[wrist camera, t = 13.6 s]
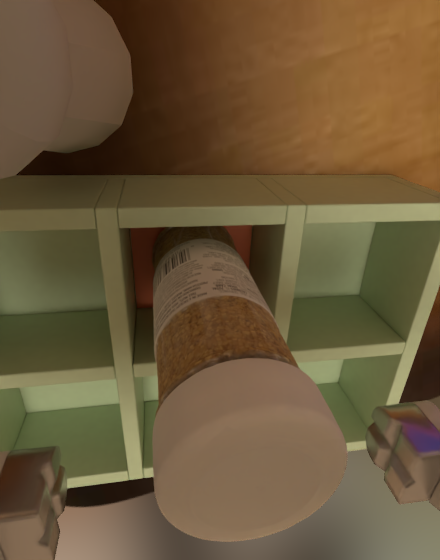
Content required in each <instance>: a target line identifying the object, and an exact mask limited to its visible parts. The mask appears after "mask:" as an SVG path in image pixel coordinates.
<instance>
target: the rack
mask: <svg viewBox="0 0 440 560" xmlns="http://www.w3.org/2000/svg"><path fill="white" fill-rule="evenodd" d="M195 226H223V227H224V228H226V229H227V231H228V233H229V234H230V235H231V237H232V239H233V241H234V245H235V249H236V251H237V253H238V254H239V255H240V256H241V258H242V259H243V261H244V263H245V265H246V267H247V268H248V270H249V272H250V274H251V276H252V278H253V280H254V282H255V284H256V285H257V287H258V289H259V291H260V293H261V295H262V296H263V298H264V300H265V302H266V303H267V305H268V307H269V309H270V311H271V313H272V315H273V317H274V319H275V320H276V322H277V324H278V327H279V330H280V334H281V335H282V337H283V339H284V340H285V343H286V344H287V346H288V348H289V350H290V351H291V354H292V356H293V357H294V359H295V360H296V363H297V364H298V367H299V368H300V370H302V371H303V372H304V373H306V374H307V375H308V376H309V377H310V378H311V379H312V380H313V381H314V383H315V384H316V385H317V387H318V389H319V390H320V392H321V394H322V396H323V398H324V400H325V401H326V403H327V405H328V407H329V408H330V410H331V412H332V414H333V416H334V418H335V420H336V422H337V424H338V426H339V427H340V429H341V431H342V433H343V436H344V439H345V442H346V445H347V451H354V450H362V449H367V447H366V440H365V436H366V432H367V428H368V427H369V426H370V425H371V424H372V423H373V422H374V420H373V419H372V417H371V415H372V412H373V410H374V409H375V408H376V407H378V406H385V405H392V404H398V403H399V400H400V398H401V395H402V392H403V389H404V386H405V383H406V380H407V377H408V375H409V372H410V369H411V366H412V363H413V360H414V357H415V354H416V352H417V349H418V346H419V343H420V340H421V337H422V334H423V331H424V329H425V326H426V323H427V320H428V317H429V314H430V311H431V309H432V306H433V303H434V300H435V297H436V294H437V291H438V288H439V286H440V192H437V191H434V190H432V189H429V188H426V187H423V186H421V185H418V184H415V183H412V182H410V181H407V180H404V179H401V178H399V177H396V176H393V175H15V176H11V177H7V178H3V179H0V451H9V450H19V449H29V448H40V447H50V446H59V447H60V451H61V454H62V457H61V462H60V465H61V466H63V467H65V470H66V475H67V488H72V487H80V486H88V485H95V484H103V483H110V482H118V481H126V480H128V479H130V480H132V479H140V478H143V476H144V478H148V477H154V475H153V444H152V438H153V426H154V421H155V418H156V416H155V415H156V411H157V408H158V405H159V401H158V376H157V363H156V361H155V355H154V316H153V278H154V274H155V271H154V267H153V264H152V255H153V246H154V243H155V241H156V239H157V237H158V235H159V234H160V232H161V231H163V230H164V229H165V228H166V227H195Z"/></svg>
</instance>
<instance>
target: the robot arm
mask: <svg viewBox="0 0 440 560" xmlns="http://www.w3.org/2000/svg"><path fill="white" fill-rule="evenodd" d="M371 417H372V419H373V420H374V422H373V423H372V424H371V425H370V426H369V427H368V428H367V432H366V436H365V440H366V447H367V450H368V453H369V455H370V457H371V459H372V461H373V462H374V464H375V465H377V466H378V467H379V468H381V469H382V470H384V471H385V473H384V481H385V482H386V484H387V485H388V487H389V489H390V490H391V492H392V494H393V495H394V497H395V499H396V500H397V502H398V503H399V504H405V503H413V502H420V501H427V500H430V501H429V502H430V503H431V504H432V505H433V506H435V507H436V508H437V509H438V510H439V511H440V410H439V409H438V408H437V407H436V406H435V404H433V403H432V402H430V401H428V400H427V401H419V402H411V403H408V402H407V403H400V404H392V405H385V406H378V407H376V408H375V409H374V410H373V412H372V415H371ZM61 457H62V454H61V451H60V447H59V446H50V447H40V448H29V449H19V450H9V451H0V560H54V559H55V554H56V549H57V544H58V539H59V534H60V529H59V526H58V522H57V518H58V517H59V516H60V515H61V514H62V513H63V511H64V508H65V502H66V495H67V475H66V470H65V467H63V466H61V465H60V462H61Z"/></svg>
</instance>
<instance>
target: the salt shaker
mask: <svg viewBox="0 0 440 560" xmlns="http://www.w3.org/2000/svg"><path fill="white" fill-rule="evenodd" d="M132 95H133V84H132V70H131V57H130V53H129V51H128V49H127V47H126V45H125V43H124V41H123V39H122V37H121V35H120V33H119V31H118V29H117V27H116V25H115V23H114V21H113V19H112V17H111V16H110V15H109V14H108V13H107V12H106V11H105V10H103V9H102V8H101V7H100V6H99V5H98V4H97V3H96V2H95V1H94V0H0V179H3V178H7V177H11V176H15V175H16V174H18V173H19V172H20V171H21V170H22V169H23V168H24V167H25V166H27V165H28V164H29V163H30V162H31V161H32V160H33V159H34V158H35V157H36V156H38V155H39V154H40V153H41V152H42V151H43V150H45V151H53V152H61V153H71V152H75V151H79V150H83V149H87V148H91V147H95V146H99V145H100V144H101V143H102V142H103V141H104V140H105V139H107V138H108V137H109V136H110V135H111V134H112V133H113V132H114V131H116V130H117V129H118V128H119V127H120V126H121V125H122V123H123V120H124V117H125V115H126V112H127V109H128V106H129V103H130V101H131V98H132Z"/></svg>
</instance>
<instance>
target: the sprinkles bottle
mask: <svg viewBox="0 0 440 560" xmlns="http://www.w3.org/2000/svg"><path fill="white" fill-rule="evenodd" d="M152 264H153V267H154V271H155V274H154V278H153V316H154V355H155V361H156V363H157V376H158V401H159V405H158V408H157V411H156V415H155V416H156V418H155V421H154V426H153V438H152V444H153V475H154V490H155V497H156V500H157V503H158V506H159V508H160V510H161V512H162V514H163V515H164V516H165V518H166V519H167V520H168V521H169V522H170V523H171V524H172V525H173V526H175V527H176V528H177V529H179V530H180V531H182V532H184V533H186V534H188V535H191V536H194V537H197V538H200V539H205V540H210V541H223V542H228V541H242V540H248V539H255V538H260V537H263V536H267V535H270V534H273V533H276V532H279V531H281V530H284V529H286V528H288V527H291V526H293V525H294V524H296V523H298V522H300V521H301V520H303V519H305V518H307V517H308V516H309V515H311V514H312V513H314V512H315V511H316V510H318V509H319V508H320V507H321V506H322V505H323V504H324V503H325V502H326V501H327V500H328V499H329V498H330V497H331V496H332V494H333V493H334V492H335V490H336V489H337V487H338V486H339V484H340V482H341V480H342V478H343V475H344V472H345V469H346V464H347V445H346V442H345V439H344V436H343V433H342V431H341V429H340V427H339V426H338V424H337V422H336V420H335V418H334V416H333V414H332V412H331V410H330V408H329V407H328V405H327V403H326V401H325V400H324V398H323V396H322V394H321V392H320V390H319V389H318V387H317V385H316V384H315V383H314V381H313V380H312V379H311V378H310V377H309V376H308V375H307V374H306V373H304V372H303V371H302V370H300V368H299V367H298V364H297V363H296V360H295V359H294V357H293V356H292V354H291V351H290V350H289V348H288V346H287V344H286V343H285V340H284V339H283V337H282V335H281V334H280V330H279V327H278V324H277V322H276V320H275V319H274V317H273V315H272V313H271V311H270V309H269V307H268V305H267V303H266V302H265V300H264V298H263V296H262V295H261V293H260V291H259V289H258V287H257V285H256V284H255V282H254V280H253V278H252V276H251V274H250V272H249V270H248V268H247V267H246V265H245V263H244V261H243V259H242V258H241V256H240V255H239V254H238V253H237V251H236V249H235V245H234V241H233V239H232V237H231V235H230V234H229V233H228V231H227V229H226V228H224V227H223V226H195V227H166V228H165V229H164V230H163V231H161V232H160V234H159V235H158V237H157V239H156V241H155V243H154V246H153V255H152Z"/></svg>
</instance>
